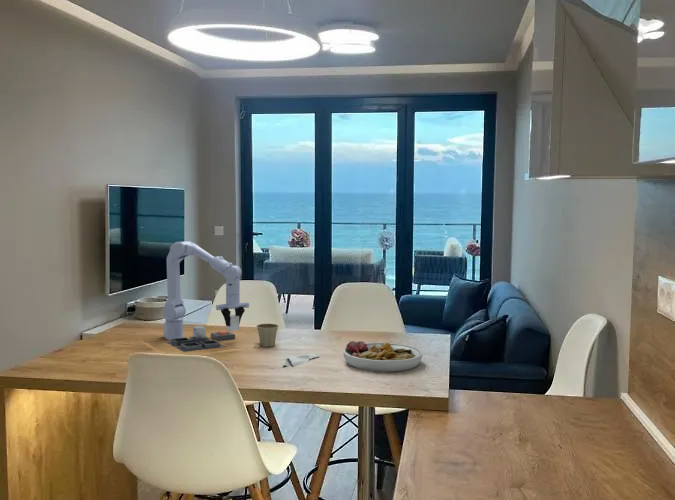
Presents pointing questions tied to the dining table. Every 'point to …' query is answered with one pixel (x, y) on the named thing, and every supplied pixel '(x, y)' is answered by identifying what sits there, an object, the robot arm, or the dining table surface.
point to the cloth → (298, 359)
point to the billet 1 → (199, 332)
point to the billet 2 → (233, 323)
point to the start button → (222, 332)
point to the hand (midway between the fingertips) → (232, 325)
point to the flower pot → (267, 334)
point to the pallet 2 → (199, 345)
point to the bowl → (381, 356)
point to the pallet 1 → (185, 341)
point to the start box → (222, 336)
